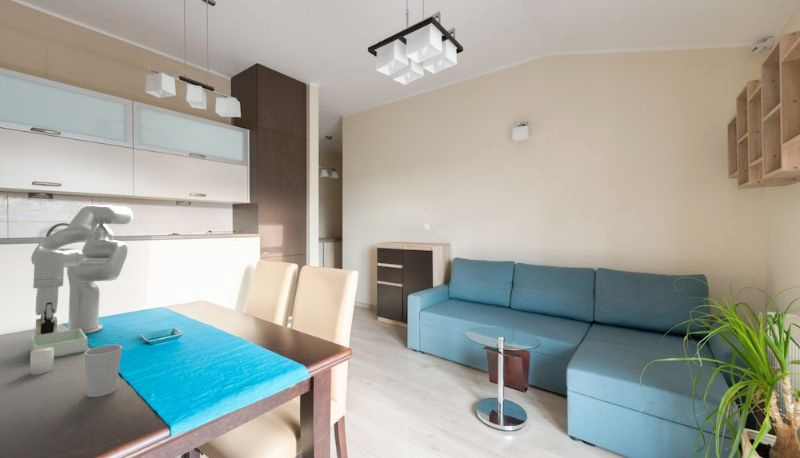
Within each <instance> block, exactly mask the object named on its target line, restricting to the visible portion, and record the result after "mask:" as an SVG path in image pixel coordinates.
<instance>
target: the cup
mask: <svg viewBox="0 0 800 458" xmlns="http://www.w3.org/2000/svg"><path fill="white" fill-rule="evenodd" d="M122 351H123V346H122V345H121V344H106V345H102V346H101V345H99V346H96V347H94V348H89V349H87V351H86V352H83V355H84V363H85V366H84V367H85V377H86V396H87V397H89V398H98V397H103V396H105V395H109V394H111V393H114V392H115V391H117V389H118V377H119V369H120V361H121V357H122Z"/></svg>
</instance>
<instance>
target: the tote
mask: <svg viewBox="0 0 800 458" xmlns="http://www.w3.org/2000/svg"><path fill="white" fill-rule="evenodd" d="M65 330H66V329H65ZM88 343H89V342H88V336H87V335H86V334H84V332H83V331H82V330H81V328H79V329H72V330H66V331H64V330H60V331H57V332H56V333H49V334H43V335H36V334H34V335H31V336H30V352H31V351H32V350H35V349H39V348H44V347H54V359H55V358H59V357H64V356H70V355H75V354H80V353H85V352H86V351H87V350H88Z"/></svg>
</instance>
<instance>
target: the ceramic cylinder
mask: <svg viewBox="0 0 800 458" xmlns="http://www.w3.org/2000/svg"><path fill="white" fill-rule="evenodd" d="M54 359H55V358H54V347H44V348H39V349H35V350H32V351H31V350H30V363H29V364H30V365H29V375H31V376H37V375H38V376H39V375H43V374H47V373H49V372H50V373H51V372H52V371H53V370H54Z"/></svg>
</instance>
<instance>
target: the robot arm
mask: <svg viewBox="0 0 800 458" xmlns="http://www.w3.org/2000/svg"><path fill="white" fill-rule="evenodd" d="M133 215H134V213H133V211H132V210H131V209H130V208H129V207H127V206H115V205H96V204H95V205H94V204H90V205H89V204H87V205H84V206H81V207H80V208H79V210H78V211H77V213H76V214H75V216H73V218H72V220H71V221H70V222H69V224H68V225H67V227H65V228H63V229H59V230H58V231H55V232H54V233H51V234H49V235H48V236H46V237H44V238H43V239H42V240H41V241H40V242H39V243H38V245H36V248H35V249H34V251H33V252H32V254H31V259H30V261H31V263H32V264H33V267H34V269H33V289H37V290H36V295H35V296H36V297H35V300H36V301H35V311H34V312H35V315H37V316H40V319H41V318H42V323H41V334H47V333H53V332H54V321H53V318H54V317H55V316H54V314H56V313H57V310H58V302H59V288H60V287H63V286H64V273H65V270H64V269H65V268H67V269H66V273H67V279H68V283H69V300H68V326H67V327H68V328H65V329H64V330H63V331H66V330H72V329H79V328H81V330H82V331H83V332H84V334H85V335H86V334H91V333H96V332H98V331H101V330H102V329H103V328H104V327H103V325H102V324H99V318H100V317H99V316H100V312H99V311H100V288H99V286H98V285H97V284H96V283H95V282H111V281H114V280H117V279H118V277H119V276H120V275H121V271H122V270H123V266H124V264H125V261H126V258H127V255H128V246H127V244H126V243H125V242H124V241H121V240H114V236H115V235H114V233H113V231H112V230H111V229H110V227H108V225H127V224H130V222H131V221H132V220H133ZM84 241H86V242H85V243H84V246H83V247H82V249H81V250H80V249H77V248H63V247H64V246H67V245H71V244H75V243H80V242H84Z"/></svg>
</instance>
